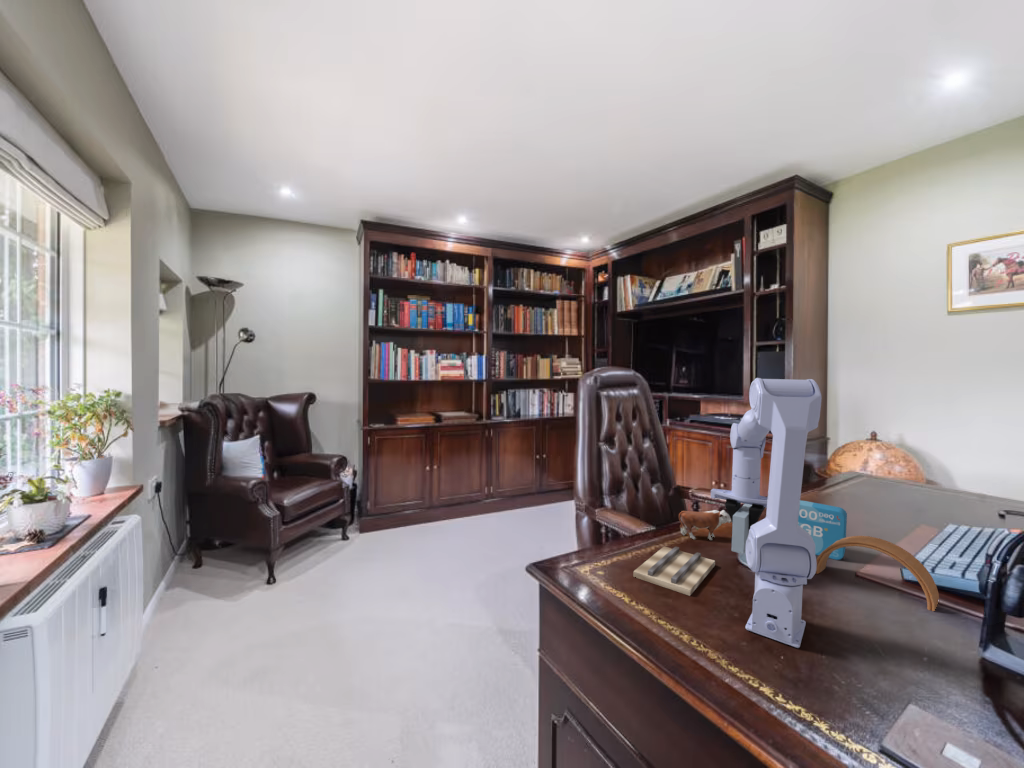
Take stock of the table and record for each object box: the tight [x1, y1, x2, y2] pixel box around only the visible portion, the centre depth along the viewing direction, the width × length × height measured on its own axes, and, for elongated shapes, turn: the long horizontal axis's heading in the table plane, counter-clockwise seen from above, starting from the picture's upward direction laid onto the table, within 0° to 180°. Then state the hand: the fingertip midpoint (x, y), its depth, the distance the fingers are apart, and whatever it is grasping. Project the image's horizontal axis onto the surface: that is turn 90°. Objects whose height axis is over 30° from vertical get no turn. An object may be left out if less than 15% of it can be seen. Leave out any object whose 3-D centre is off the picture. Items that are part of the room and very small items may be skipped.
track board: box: [632, 546, 716, 597], centre depth 98 cm, size 18×12×2 cm, turn 140°
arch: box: [815, 535, 940, 612], centre depth 92 cm, size 6×20×10 cm, turn 38°
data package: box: [798, 499, 848, 561], centre depth 110 cm, size 12×4×12 cm, turn 48°
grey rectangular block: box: [731, 503, 752, 555], centre depth 100 cm, size 12×2×8 cm, turn 140°
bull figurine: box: [678, 509, 732, 541], centre depth 117 cm, size 4×13×8 cm, turn 78°
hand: (743, 534), depth 100 cm, fingers closed on grey rectangular block, 2 cm apart
